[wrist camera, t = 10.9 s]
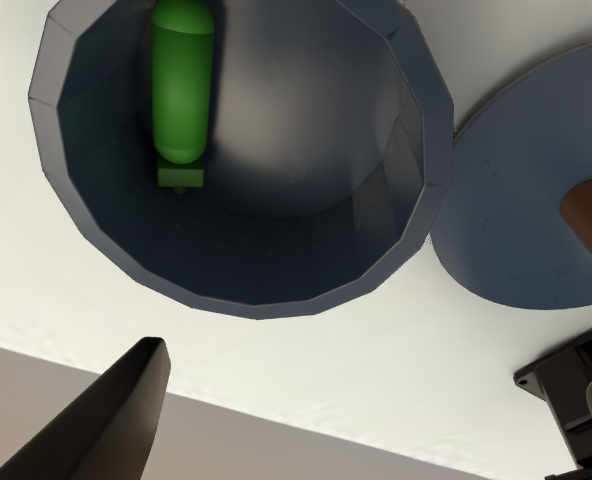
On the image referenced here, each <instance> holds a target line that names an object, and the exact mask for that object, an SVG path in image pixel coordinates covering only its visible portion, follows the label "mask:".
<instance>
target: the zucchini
mask: <svg viewBox="0 0 592 480" xmlns="http://www.w3.org/2000/svg"><path fill="white" fill-rule="evenodd" d="M213 45H214V20H213V16H212V13H211V11H210V9H209V7H208V6H207V4H206V3H205V2H204V1H203V0H157V1H156V3H155V5H154V7H153V10H152V14H151V53H152V117H153V142H154V145H155V148H156V165H157V182H158V186H160V187H172V191H173V192H174V193H175V194H183V193H185V191H186V187H203V183H204V167H203V163H202V158H201V155H202V154H203V152H204V150H205V147H206V143H207V132H208V117H209V103H210V88H211V74H212V59H213Z"/></svg>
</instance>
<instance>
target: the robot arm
mask: <svg viewBox="0 0 592 480" xmlns="http://www.w3.org/2000/svg"><path fill="white" fill-rule="evenodd" d="M170 369H171V362H170V358H169V354H168V351H167V347H166V344H165V341H164V339H162V338H160V337H144V338H142V339H140V340H139V341H138V342H137V343H136V344H135V345H134V346H133V347H132V348H131V349H129V350H128V351H127V352H126V353H125V354H124V355H123V356H122V357H121V358H120V359H119V360H117V361H116V362H115V363H114V364H113V365H112V366H111V367H110V368H109V369H108V370H106V371H105V372H104V373H103V374H102V375H101V376H100V377H99V378H98V379H97V380H96V381H94V382H93V383H92V384H91V385H90V386H89V387H88V388H87V389H86V390H85V391H84V392H82V393H81V394H80V395H79V396H78V397H77V398H76V399H75V400H74V401H73V402H71V403H70V404H69V405H68V406H67V407H66V408H65V409H64V410H63V411H62V412H61V413H59V414H58V415H57V416H56V417H55V418H54V419H53V420H52V421H51V422H50V423H49V424H47V425H46V426H45V427H44V428H43V429H42V430H41V431H40V432H39V433H38V434H36V436H34V437H33V438H32V439H31V440H30V441H29V442H28V443H27V444H25V445H24V446H23V447H22V448H21V449H20V450H19V451H18V452H17V453H16V454H15V455H14V456H12V457H11V458H10V459H9V460H8V461H7V462H6V463H5V464H4V465H3V466H1V467H0V480H140V479H141V476H142V473H143V470H144V468H145V465H146V462H147V459H148V456H149V453H150V450H151V447H152V444H153V441H154V437H155V433H156V430H157V425H158V421H159V417H160V413H161V409H162V404H163V400H164V396H165V392H166V387H167V383H168V379H169V375H170ZM513 379H514V382H515V384H516V385H517V386H518V387H520V388H522V389H524V390H526V391H527V392H529V393H531V394H533V395H535V396H536V397H538V398H540V399H542V400H544V401H546V402H547V403H548V406H549V408H550V410H551V412H552V414H553V417H554V419H555V421H556V423H557V425H558V428H559V430H560V432H561V434H562V436H563V439H564V441H565V443H566V445H567V447H568V450H569V452H570V454H571V456H572V459H573V461H574V463H575V465H576V467H577V470H574V471H571V472H567V473H564V474H560V475H554V474H553V475H550V476H546V477H545V480H592V331H591V332H589V333H587V334H585V335H584V336H582V337H580V338H578V339H577V340H575V341H573V342H571V343H570V344H568V345H566V346H564V347H563V348H561V349H559V350H557V351H556V352H554V353H552V354H550V355H549V356H547V357H545V358H543V359H542V360H540V361H538V362H536V363H535V364H533V365H531V366H529V367H528V368H526V369H524V370H522V371H521V372H519V373H517V374H516V375H514V377H513Z"/></svg>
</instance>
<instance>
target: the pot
mask: <svg viewBox="0 0 592 480" xmlns="http://www.w3.org/2000/svg"><path fill="white" fill-rule="evenodd" d="M156 1H157V0H59V1H58V3H57V4H56V5H55V6H54V7H53V8H52V9H51V10H50V11H49V12H48V15H47V18H46V22H45V26H44V30H43V34H42V38H41V42H40V46H39V51H38V55H37V59H36V63H35V67H34V71H33V75H32V79H31V83H30V87H29V91H28V96H29V97H28V102H29V106H30V111H31V116H32V121H33V126H34V131H35V136H36V141H37V146H38V151H39V155H40V160H41V165H42V170H43V173H45V177H46V178H47V180H48V181H49V183H50V185H51V186H52V188H53V189H54V191H55V193H56V194H57V196H58V197H59V199H60V201H61V202H62V204H63V205H64V207H65V209H66V210H67V212H68V213H69V215H70V217H71V218H72V220H73V222H74V223H75V225H76V226H77V228H78V230H79V231H80V233H81V234H82V235H83V237H84V238H85V239H87V240H88V241H89V242H90V243H91V244H92V245H93V246H95V247H96V248H97V249H98V250H99V251H100V252H102V253H103V254H104V255H105V256H106V257H107V258H109V259H110V260H111V261H112V262H113V263H114V264H115V265H117V266H118V267H119V268H120V269H121V270H122V271H124V272H125V273H126V274H127V275H128V276H129V277H131V278H132V279H133V280H135V282H137V283H140V284H142V285H144V286H146V287H148V288H150V289H152V290H154V291H156V292H159V293H161V294H163V295H165V296H167V297H169V298H171V299H173V300H175V301H178V302H180V303H182V304H184V305H186V306H188V307H190V308H195V309H199V310H204V311H210V312H215V313H221V314H226V315H231V316H237V317H242V318H248V319H255V320H263V319H274V318H285V317H296V316H307V315H316V314H319V313H321V312H324V311H326V310H329V309H331V308H334V307H336V306H338V305H341V304H343V303H346V302H348V301H351V300H353V299H356V298H358V297H360V296H363V295H365V294H368V293H370V292H372V291H373V290H375V289H376V288H377V287H379V286H380V285H381V284H382V283H383V282H384V281H385V280H386V279H388V278H389V277H390V276H391V275H392V274H393V273H394V272H395V271H396V270H398V269H399V268H400V267H401V266H402V265H403V264H404V263H405V262H406V261H408V260H409V259H410V258H411V257H412V256H413V255H414V254H415V253H417V252H418V251H419V250H420V249H421V247H422V245H423V243H424V241H425V239H426V237H427V235H428V233H429V231H430V228H431V226H432V224H433V222H434V220H435V218H436V216H437V214H438V212H439V210H440V208H441V206H442V203H443V201H444V199H445V197H446V195H447V193H448V191H449V189H450V187H451V184H452V177H453V119H454V104H453V100H452V97H451V95H450V93H449V91H448V89H447V86H446V84H445V82H444V80H443V78H442V75H441V73H440V71H439V69H438V67H437V65H436V62H435V60H434V58H433V56H432V54H431V51H430V49H429V47H428V45H427V43H426V40H425V38H424V36H423V34H422V32H421V30H420V27H419V25H418V23H417V21H416V19H415V16H414V15H413V14H412V13H411V12H410V10H409V9H408V8H407V7H406V6H405V5H404V4H403V3H402V2H401V1H400V0H203V1H204V2H205V3H206V4H207V6H208V7H209V9H210V11H211V13H212V16H213V20H214V45H213V59H212V74H211V88H210V103H209V117H208V132H207V143H206V147H205V150H204V152H203V154H202V155H201V158H202V163H203V167H204V183H203V187H186V191H185V193H183V194H175V193H174V192H173V191H172V187H160V186H158V182H157V165H156V148H155V145H154V142H153V117H152V53H151V14H152V10H153V7H154V5H155V3H156Z"/></svg>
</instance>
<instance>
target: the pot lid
mask: <svg viewBox="0 0 592 480" xmlns="http://www.w3.org/2000/svg"><path fill="white" fill-rule="evenodd" d="M429 233H430V237H431V240H432V244H433V247H434V250H435V252H436V254H437V256H438V258H439V260H440V262H441V264H442V265H443V266H444V268H445V269H446V271H447V272H448V273H449V274H450V275H451V276H452V277H453V278H454V279H455V280H456V281H457V282H458V283H459V284H460V285H462V286H463V287H465V288H466V289H467V290H469V291H470V292H472V293H474V294H476V295H478V296H480V297H482V298H484V299H487V300H489V301H492V302H495V303H498V304H502V305H506V306H510V307H516V308H523V309H535V310H556V309H568V308H576V307H583V306H588V305H592V41H591V42H588V43H586V44H583V45H580V46H577V47H575V48H572V49H569V50H567V51H564V52H562V53H560V54H558V55H556V56H554V57H552V58H550V59H548V60H546V61H544V62H542V63H540V64H538V65H537V66H535V67H533V68H532V69H530V70H529V71H527V72H525V73H524V74H522V75H520V76H519V77H517V78H516V79H514V80H513V81H512V82H510V83H509V84H508V85H507V86H505V87H504V88H503V89H501V90H500V91H499V92H497V93H496V94H495V95H494V96H493V97H492V98H490V99H489V100H488V101H487V102H486V103H485V104H484V105H483V106H482V107H481V108H480V109H479V110H478V111H477V112H476V113H475V114H474V115H473V116H472V117H471V119H470V120H469V121H468V122H467V123H466V124H465V125H464V127H463V128H462V129H461V130H460V132H459V133H458V134H457V136H456V137H455V139H454V140H453V177H452V184H451V187H450V189H449V191H448V193H447V195H446V197H445V199H444V201H443V203H442V206H441V208H440V210H439V212H438V214H437V216H436V218H435V220H434V222H433V224H432V226H431V228H430V231H429Z"/></svg>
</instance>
